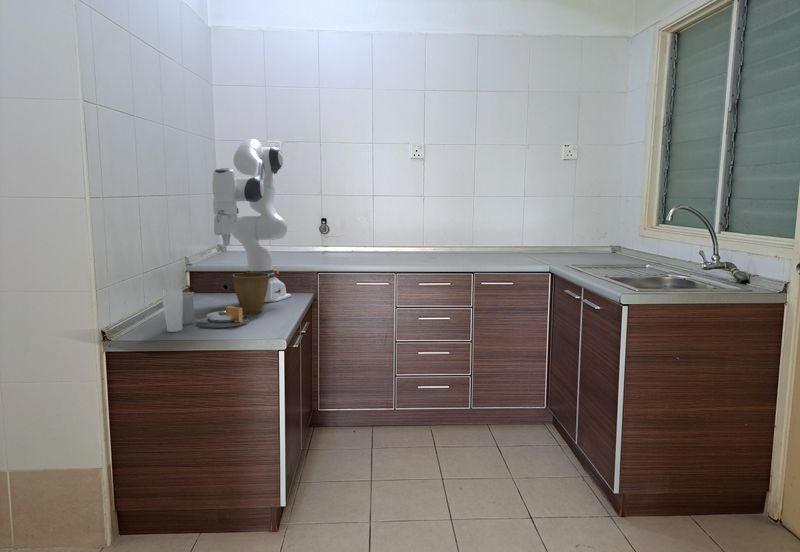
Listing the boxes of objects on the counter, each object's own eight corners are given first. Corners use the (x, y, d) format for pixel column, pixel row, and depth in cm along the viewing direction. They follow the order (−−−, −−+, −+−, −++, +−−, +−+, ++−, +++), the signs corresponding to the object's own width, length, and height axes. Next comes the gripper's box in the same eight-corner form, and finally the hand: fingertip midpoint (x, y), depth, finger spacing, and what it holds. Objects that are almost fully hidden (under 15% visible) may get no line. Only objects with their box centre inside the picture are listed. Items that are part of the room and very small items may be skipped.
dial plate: (224, 315, 237) (224, 312, 237) (259, 320, 228) (259, 317, 228) (186, 325, 221) (186, 321, 221) (223, 330, 212) (223, 326, 212)
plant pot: (251, 317, 235) (250, 278, 233) (226, 313, 243) (224, 275, 241) (277, 310, 247) (276, 273, 245) (253, 307, 255) (251, 271, 253)
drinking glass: (173, 333, 207) (171, 292, 205) (160, 331, 211) (158, 290, 208) (188, 330, 213) (186, 289, 211) (175, 327, 216) (173, 288, 214)
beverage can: (196, 321, 227) (195, 291, 225) (190, 325, 220) (188, 294, 218) (180, 321, 227) (178, 291, 225) (173, 325, 220) (171, 294, 219)
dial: (200, 320, 223) (199, 306, 222) (225, 314, 233) (224, 301, 232) (228, 325, 214) (227, 311, 214) (252, 319, 224) (252, 305, 224)
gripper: (225, 210, 220) (227, 247, 222) (239, 209, 241) (241, 242, 242) (209, 210, 220) (210, 247, 222) (224, 209, 240) (225, 242, 242)
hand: (226, 244), depth 232 cm, fingers closed
